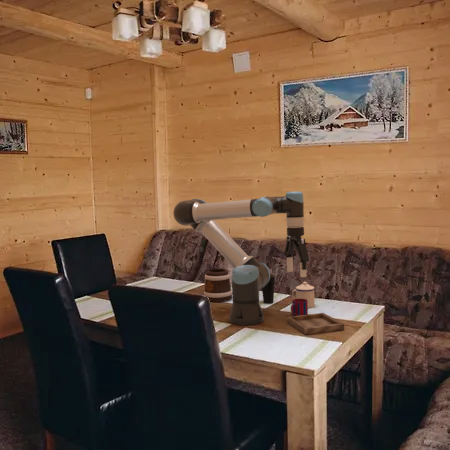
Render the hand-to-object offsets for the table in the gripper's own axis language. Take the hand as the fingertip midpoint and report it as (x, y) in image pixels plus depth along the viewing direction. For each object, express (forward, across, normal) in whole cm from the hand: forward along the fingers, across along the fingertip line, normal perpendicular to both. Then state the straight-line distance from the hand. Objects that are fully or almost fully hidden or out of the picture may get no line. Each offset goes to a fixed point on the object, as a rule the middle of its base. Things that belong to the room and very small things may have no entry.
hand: (296, 274), depth 222 cm
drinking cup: (+19, +27, +3) cm, 33 cm away
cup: (+19, 0, 0) cm, 19 cm away
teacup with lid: (+19, +14, -10) cm, 26 cm away
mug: (+19, +46, +25) cm, 55 cm away
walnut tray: (+19, -18, 0) cm, 26 cm away
